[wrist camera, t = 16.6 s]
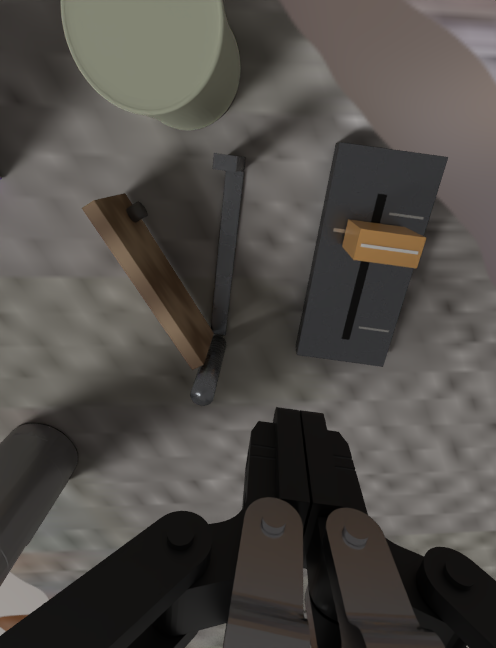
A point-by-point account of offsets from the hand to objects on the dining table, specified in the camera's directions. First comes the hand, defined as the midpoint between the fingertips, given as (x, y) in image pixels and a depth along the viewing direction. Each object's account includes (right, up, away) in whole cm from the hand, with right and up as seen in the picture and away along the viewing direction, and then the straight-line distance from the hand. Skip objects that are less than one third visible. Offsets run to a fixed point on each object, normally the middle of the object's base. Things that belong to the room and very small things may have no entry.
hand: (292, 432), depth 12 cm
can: (-7, +25, +19) cm, 32 cm away
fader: (+10, +11, +21) cm, 26 cm away
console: (+9, +10, +25) cm, 28 cm away
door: (-9, +9, +25) cm, 28 cm away
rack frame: (-4, +9, +25) cm, 27 cm away
